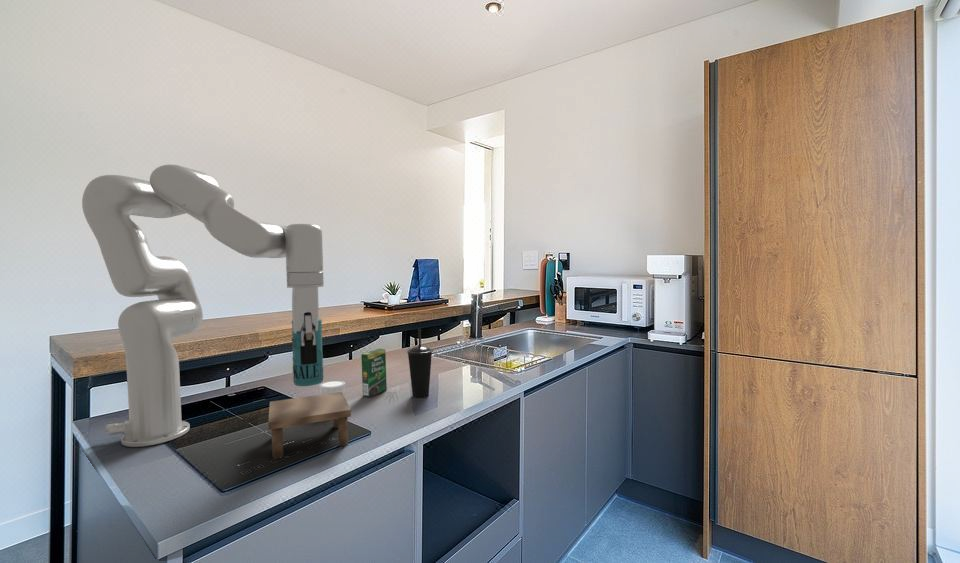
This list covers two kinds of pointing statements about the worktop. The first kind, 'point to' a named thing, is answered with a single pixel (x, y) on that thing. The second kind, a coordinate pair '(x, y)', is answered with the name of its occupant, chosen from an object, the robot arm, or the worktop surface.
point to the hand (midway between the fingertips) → (307, 359)
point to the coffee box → (374, 372)
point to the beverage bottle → (308, 372)
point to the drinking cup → (420, 369)
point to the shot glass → (332, 387)
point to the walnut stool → (308, 416)
